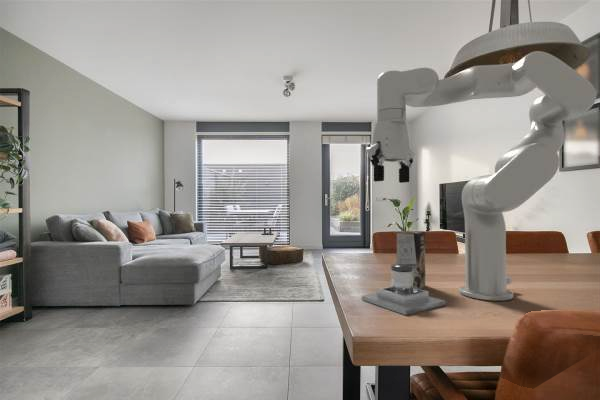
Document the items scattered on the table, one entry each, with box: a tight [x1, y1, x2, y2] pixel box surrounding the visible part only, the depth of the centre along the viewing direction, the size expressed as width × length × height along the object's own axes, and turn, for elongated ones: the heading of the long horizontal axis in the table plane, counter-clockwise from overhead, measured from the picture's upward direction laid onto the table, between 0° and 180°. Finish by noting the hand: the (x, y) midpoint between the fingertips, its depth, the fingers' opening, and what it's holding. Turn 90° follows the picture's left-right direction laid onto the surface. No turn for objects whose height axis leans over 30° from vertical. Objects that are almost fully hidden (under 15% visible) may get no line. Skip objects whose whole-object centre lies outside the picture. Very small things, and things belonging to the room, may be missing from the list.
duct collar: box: [361, 285, 447, 316], centre depth 83 cm, size 14×14×3 cm
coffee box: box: [396, 230, 426, 290], centre depth 98 cm, size 9×6×16 cm
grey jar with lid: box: [390, 263, 413, 295], centre depth 83 cm, size 5×5×8 cm
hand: (391, 181), depth 91 cm, fingers open, 9 cm apart
